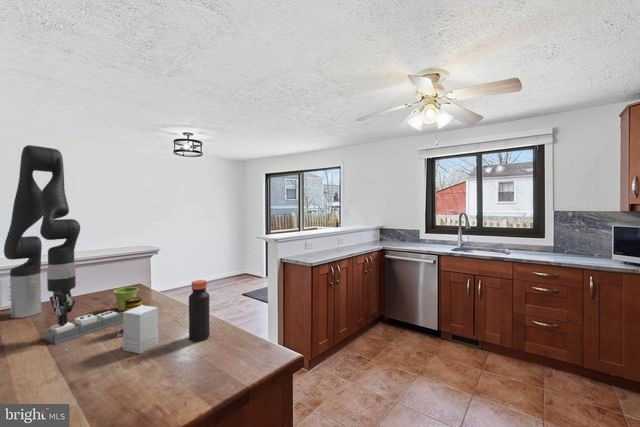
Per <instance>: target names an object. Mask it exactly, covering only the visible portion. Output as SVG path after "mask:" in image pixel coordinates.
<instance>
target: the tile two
mask: <svg viewBox="0 0 640 427" xmlns="http://www.w3.org/2000/svg"><path fill="white" fill-rule="evenodd" d="M95 321H97V316H96V315H93V314H91V313H90V314H86V315H82V316H79V317H75V318H74V322H75V324H77V325H80V326H82V325H85V324H89V323H92V322H95Z"/></svg>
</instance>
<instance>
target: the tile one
mask: <svg viewBox="0 0 640 427" xmlns="http://www.w3.org/2000/svg"><path fill="white" fill-rule="evenodd" d="M72 328H74V324H72V322H69V321H67V324H65V325H58V324H55V325H52V326H50V327H49V329H50V331H52V332H54V333H59V332H62V331H66V330H69V329H72Z"/></svg>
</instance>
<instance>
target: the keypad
mask: <svg viewBox="0 0 640 427" xmlns="http://www.w3.org/2000/svg"><path fill="white" fill-rule="evenodd" d="M112 311H113V310H112ZM113 312H116V313H117V315H115V316H112V317H109V318H105V319H101V318H98V317H97V321H95V322H92V323H89V324H85V325H82V326H80V325H77V324H75V321H72V322H71V323H72V324H74V328H72V329H69V330H66V331H62V332H59V333H54V332H52V331H50V328H48V329H45V330H44V335H43V336H42V337H41V338H42V339H43V340H46V341H47V342H49V343H51V344H54V345H60V344H62V343H65V342H67V341H70V340H74V339H76V338H80V337H82V336H85V335H89V334H92V333H94V332H95V333H96V332H98V331H101V330H103V329H106V328H108V329H109V328H110V327H113V326H116V325H120V324H123V313H119V312H117V311H113ZM97 315H98V314H96V315H95V316H97Z"/></svg>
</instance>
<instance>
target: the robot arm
mask: <svg viewBox="0 0 640 427" xmlns="http://www.w3.org/2000/svg"><path fill="white" fill-rule="evenodd" d="M62 155H63V154H62V153H61V151H60V150H59V149H57V148H51V147H45V146H39V145H31V144H29V145H25V146H24V147H23V149H22V151H21V155H20V165H19V166H20V167H19V177H18V178H19V179H18V184H17V188H16V193H15V196H14V201H13V206H12V214H11V220H10V225H9V228H8V232H7V235H6V239H5V242H4V245H3V254H4V258H6V259H7V260H12V261H13V260H21V259H22V260H23V259H27V260H26V261H25V262H24V263H22V264H20V265H17V266H15V267H12V268H11V269H10V270H9V279H10V280H9V281H10V282H9V284H10V285H9V286H10V290H9V291H10V318H12V319H22V318H27V317H28V318H29V317H31V316H36V315H38V313H39V314H40V313H41V312H42V282H41V281H42V278H41V275H42V274H41V270H42V269H41V268H42V250H43V249H42V246H43V245H42V240H41V238H40V237H39V236H37V235H35V236H34V235H29V236H23V235H24V234H25V232H26V231H28V230H29V228H31V227H33V226H34V225H35V224H36V223H37V222H38V221H39V220H41V219H42V220H41V221H42V222H41V224H40V231H39V233H40V234H39V235H40V236H41V237H42V238H43V239H45V240H46V241H57V240H65V241H63V243H62V244H60V245H55V246H52V247H49V248H48V249H47V269H46V274H47V275H46V279H47V280H46V282H47V286H46V287H47V291H48V292H52V294H53V295H52V296H49V300H50V304H51V306H52V310H53V312H54V313H55V314H56V315H57V325H65V324H67V322H68V314H69V313H71V312H72V310H73V308H74V305H75V303H76V300H75V299H72V293H71V290H73V289H75V288H76V285H77V282H76V281H77V280H76V265H75V248H76V245H77V241H78V238H79V235H80V232H81V225H80V223H79V221H77V220H76V219H74V218H67V219H66V218H64V217H66V216H67V215H69V213H70V207H69V205H68V201H67V196H66V190H65V172H64V161H63V156H62ZM34 171H37V172H45V173H46V172H47V173H48V172H49V173H51V174H52V175H51V178H50V180H49V181H48V183H47V184H46V185H45V186H44V187H43V189H41V188H40V187H39V186H38V184H37V182H36V180H35V179H34ZM61 218H63V219H61Z"/></svg>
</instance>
